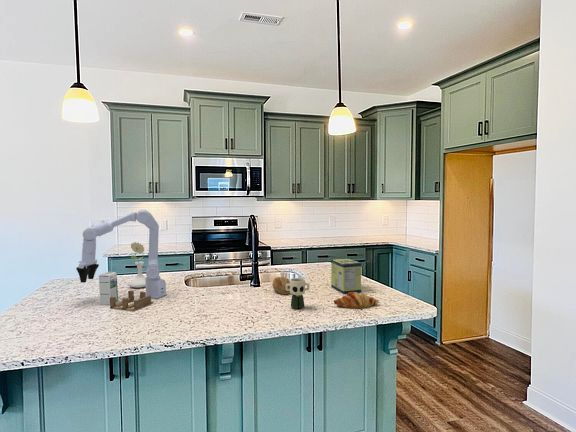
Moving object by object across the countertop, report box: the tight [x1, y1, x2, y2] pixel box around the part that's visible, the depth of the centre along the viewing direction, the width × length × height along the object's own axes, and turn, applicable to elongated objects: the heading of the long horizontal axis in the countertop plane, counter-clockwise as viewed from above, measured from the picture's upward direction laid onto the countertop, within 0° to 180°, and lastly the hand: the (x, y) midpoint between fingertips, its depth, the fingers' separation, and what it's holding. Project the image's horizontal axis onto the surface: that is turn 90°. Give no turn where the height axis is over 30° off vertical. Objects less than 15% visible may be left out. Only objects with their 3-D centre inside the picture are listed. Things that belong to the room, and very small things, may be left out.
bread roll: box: [271, 276, 291, 295], centre depth 197 cm, size 10×15×8 cm, turn 19°
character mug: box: [286, 277, 310, 310], centre depth 170 cm, size 11×7×13 cm, turn 97°
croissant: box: [333, 292, 380, 309], centre depth 173 cm, size 21×10×8 cm, turn 98°
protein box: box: [330, 258, 362, 295], centre depth 201 cm, size 10×16×16 cm
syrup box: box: [98, 271, 119, 306], centre depth 179 cm, size 6×6×14 cm
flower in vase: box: [128, 241, 147, 289], centre depth 209 cm, size 13×11×25 cm
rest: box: [109, 289, 154, 312], centre depth 175 cm, size 13×13×5 cm
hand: (87, 280), depth 180 cm, fingers open, 7 cm apart
